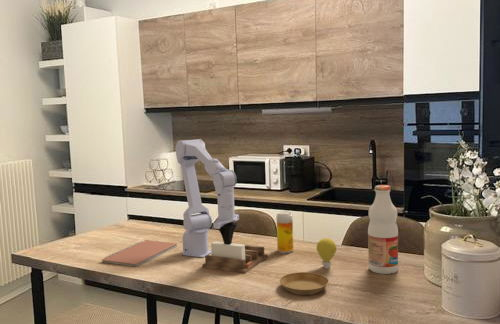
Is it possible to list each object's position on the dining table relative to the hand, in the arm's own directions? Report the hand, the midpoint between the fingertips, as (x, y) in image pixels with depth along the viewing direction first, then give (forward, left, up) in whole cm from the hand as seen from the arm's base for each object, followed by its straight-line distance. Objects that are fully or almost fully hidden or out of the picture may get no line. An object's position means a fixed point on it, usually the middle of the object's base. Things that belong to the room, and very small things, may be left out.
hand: (227, 244), depth 159 cm
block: (0, 0, -7) cm, 7 cm away
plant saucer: (+31, -9, -9) cm, 33 cm away
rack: (0, +5, -8) cm, 10 cm away
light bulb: (+32, +11, -8) cm, 35 cm away
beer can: (+12, +23, -8) cm, 27 cm away
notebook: (-40, +1, -9) cm, 41 cm away
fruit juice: (+50, +15, -8) cm, 53 cm away
